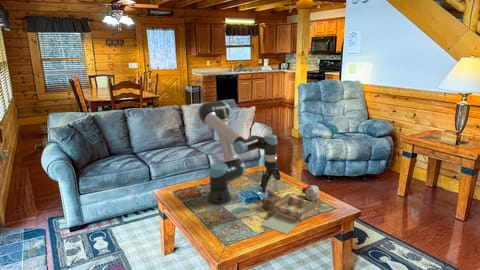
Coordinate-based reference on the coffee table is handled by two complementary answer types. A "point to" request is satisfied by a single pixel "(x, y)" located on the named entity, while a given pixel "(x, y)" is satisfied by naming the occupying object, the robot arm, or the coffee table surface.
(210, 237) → the coffee table surface
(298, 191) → the coffee table surface
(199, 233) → the coffee table surface
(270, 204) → the walnut block
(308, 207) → the box
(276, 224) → the lid
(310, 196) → the candle
